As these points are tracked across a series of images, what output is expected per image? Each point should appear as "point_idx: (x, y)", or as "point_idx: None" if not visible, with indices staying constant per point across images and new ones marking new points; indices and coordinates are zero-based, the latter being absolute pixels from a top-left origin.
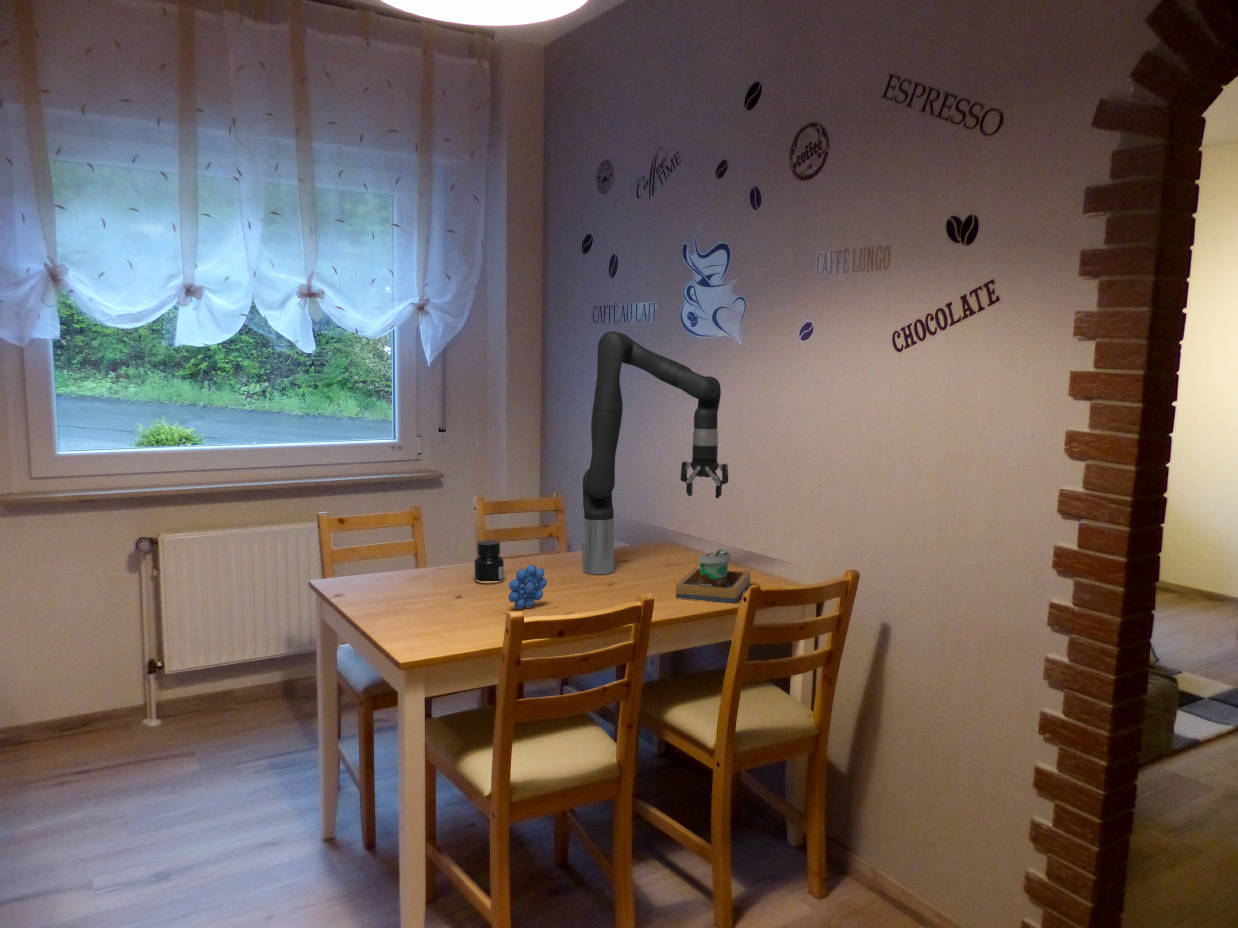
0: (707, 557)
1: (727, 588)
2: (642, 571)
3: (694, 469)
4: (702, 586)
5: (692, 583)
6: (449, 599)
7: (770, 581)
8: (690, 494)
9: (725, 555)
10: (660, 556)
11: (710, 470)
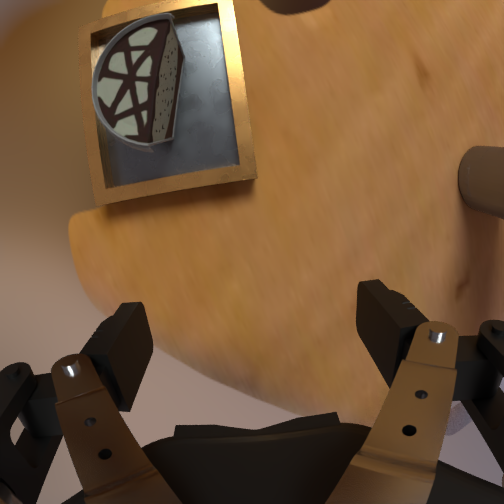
0: (143, 20)
1: (97, 22)
2: (409, 215)
3: (439, 476)
4: (159, 5)
5: (228, 96)
6: None
7: (85, 255)
8: (362, 289)
9: (95, 70)
10: None
11: (92, 493)
